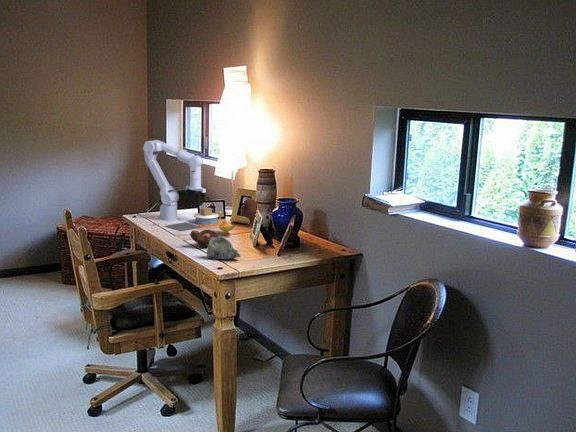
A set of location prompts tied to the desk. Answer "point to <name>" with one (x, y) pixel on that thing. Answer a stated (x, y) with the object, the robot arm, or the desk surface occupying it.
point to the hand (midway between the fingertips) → (195, 204)
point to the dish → (206, 221)
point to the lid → (206, 214)
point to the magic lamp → (226, 227)
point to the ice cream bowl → (249, 210)
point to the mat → (183, 226)
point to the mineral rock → (221, 249)
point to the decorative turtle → (203, 237)
